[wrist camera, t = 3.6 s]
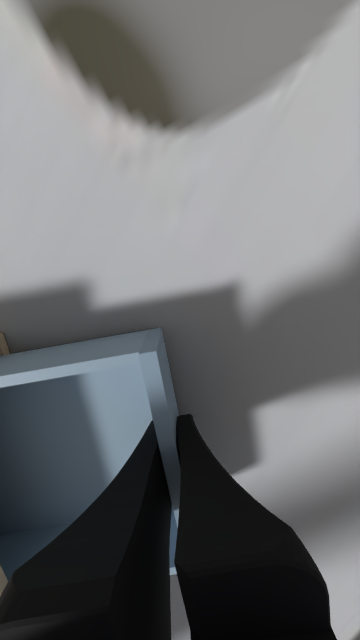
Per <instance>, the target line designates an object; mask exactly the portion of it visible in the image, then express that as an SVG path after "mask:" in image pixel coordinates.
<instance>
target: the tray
mask: <svg viewBox="0 0 360 640" xmlns="http://www.w3.org/2000/svg"><path fill="white" fill-rule="evenodd" d="M177 416H179V413H178V408H177V403H176V398H175V393H174V387H173V382H172V377H171V372H170V367H169V362H168V357H167V352H166V347H165V342H164V337H163V332H162V327H161V328H155V329H149V330H144V331H138V332H132V333H127V334H121V335H115V336H110V337H104V338H98V339H93V340H87V341H81V342H76V343H70V344H64V345H59V346H53V347H47V348H41V349H36V350H30V351H24V352H19V353H13V354H7V355H2V356H0V565H1V567H2V569H3V572H4V574H5V576H6V578H7V581H9V579H10V578H11V576H12V574H13V572H14V571H15V570H16V569H18V568H19V567H20V566H22V565H23V564H24V563H26V562H27V561H28V560H29V559H31V558H32V557H33V556H34V555H36V554H37V553H38V552H39V551H41V550H42V549H43V548H44V547H46V546H47V545H48V544H49V543H50V542H52V541H53V540H54V539H55V538H56V537H57V536H58V535H60V534H61V533H62V532H63V531H64V530H65V529H66V528H67V527H69V526H70V525H71V524H72V523H73V522H74V521H75V520H76V519H77V518H78V517H79V516H80V515H81V514H82V513H83V512H84V511H85V510H86V509H87V508H88V507H89V506H90V505H91V504H92V503H93V502H94V501H95V500H96V499H97V498H98V497H99V496H100V494H101V493H102V492H103V491H104V490H105V489H106V488H107V486H108V485H109V484H110V483H111V482H112V480H113V479H114V478H115V477H116V475H117V474H118V473H119V471H120V470H121V468H122V467H123V466H124V464H125V463H126V461H127V460H128V459H129V457H130V456H131V454H132V453H133V451H134V449H135V448H136V446H137V445H138V443H139V441H140V440H141V438H142V436H143V435H144V433H145V431H146V429H147V428H148V426H149V424H150V422H151V421H152V420H153V422H154V427H155V431H156V435H157V440H158V444H159V449H160V453H161V458H162V462H163V466H164V471H165V475H166V480H167V484H168V489H169V493H170V497H171V502H172V511H171V526H170V548H169V555H170V575H174V574H177V572H176V568H175V564H174V558H175V550H176V540H177V530H178V518H179V503H180V476H181V461H180V451H179V444H178V436H177V428H176V421H177Z"/></svg>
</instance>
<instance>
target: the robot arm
mask: <svg viewBox="0 0 360 640" xmlns="http://www.w3.org/2000/svg"><path fill="white" fill-rule="evenodd" d="M176 428H177V436H178V444H179V451H180V461H181V476H180V503H179V518H178V530H177V540H176V550H175V558H174V564H175V568H176V572H177V576H178V580H179V585H180V589H181V593H182V597H183V601H184V605H185V609H186V614H187V618H188V622H189V626H190V630H191V640H337V639H336V637H335V634H334V632H333V630H332V628H331V623H330V606H329V594H328V590H327V586H326V583H325V581H324V579H323V577H322V575H321V573H320V571H319V569H318V567H317V566H316V564H315V562H314V561H313V559H312V557H311V556H310V554H309V552H308V551H307V549H306V548H305V546H304V545H303V543H302V542H301V540H300V539H299V538H298V536H297V535H296V533H295V532H294V530H293V529H292V528H291V527H290V526H289V525H287V524H286V523H284V522H283V521H282V520H280V519H279V518H277V517H276V516H275V515H274V514H272V513H271V512H270V511H268V510H267V509H266V508H265V507H264V506H262V505H261V504H260V503H259V502H258V501H256V500H255V499H254V498H253V497H252V496H251V495H250V494H249V493H248V492H247V491H245V490H244V489H243V488H242V487H241V486H240V485H239V484H238V483H237V482H236V481H235V480H234V479H233V478H232V477H231V476H230V475H229V473H228V472H227V471H226V470H225V469H224V468H223V467H222V465H221V464H220V463H219V462H218V460H217V459H216V458H215V457H214V455H213V454H212V452H211V451H210V450H209V448H208V447H207V445H206V444H205V442H204V440H203V439H202V437H201V435H200V433H199V432H198V430H197V428H196V425H195V423H194V420H193V416H192V415H191V414H187V415H181V416H177V421H176ZM171 511H172V502H171V497H170V493H169V489H168V484H167V480H166V475H165V471H164V466H163V462H162V458H161V453H160V449H159V444H158V440H157V435H156V431H155V427H154V422H153V420H152V421H151V422H150V424H149V426H148V428H147V429H146V431H145V433H144V435H143V436H142V438H141V440H140V441H139V443H138V445H137V446H136V448H135V449H134V451H133V453H132V454H131V456H130V457H129V459H128V460H127V461H126V463H125V464H124V466H123V467H122V468H121V470H120V471H119V473H118V474H117V475H116V477H115V478H114V479H113V480H112V482H111V483H110V484H109V485H108V486H107V488H106V489H105V490H104V491H103V492H102V493H101V494H100V496H99V497H98V498H97V499H96V500H95V501H94V502H93V503H92V504H91V505H90V506H89V507H88V508H87V509H86V510H85V511H84V512H83V513H82V514H81V515H80V516H79V517H78V518H77V519H76V520H75V521H74V522H73V523H72V524H71V525H70V526H69V527H67V528H66V529H65V530H64V531H63V532H62V533H61V534H60V535H58V536H57V537H56V538H55V539H54V540H53V541H52V542H50V543H49V544H48V545H47V546H46V547H44V548H43V549H42V550H41V551H39V552H38V553H37V554H36V555H34V556H33V557H32V558H31V559H29V560H28V561H27V562H26V563H24V564H23V565H22V566H20V567H19V568H18V569H16V570H15V571H14V572H13V574H12V576H11V578H10V579H9V581H8V583H7V585H6V586H5V588H4V590H3V592H2V593H1V595H0V640H171V613H170V555H169V548H170V526H171Z"/></svg>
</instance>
